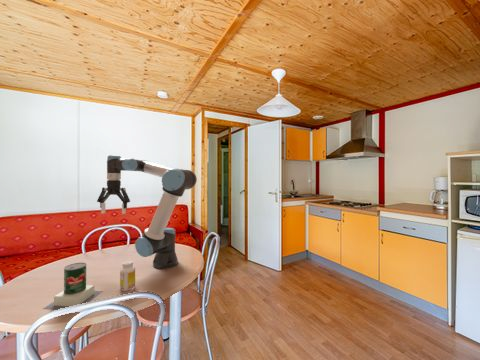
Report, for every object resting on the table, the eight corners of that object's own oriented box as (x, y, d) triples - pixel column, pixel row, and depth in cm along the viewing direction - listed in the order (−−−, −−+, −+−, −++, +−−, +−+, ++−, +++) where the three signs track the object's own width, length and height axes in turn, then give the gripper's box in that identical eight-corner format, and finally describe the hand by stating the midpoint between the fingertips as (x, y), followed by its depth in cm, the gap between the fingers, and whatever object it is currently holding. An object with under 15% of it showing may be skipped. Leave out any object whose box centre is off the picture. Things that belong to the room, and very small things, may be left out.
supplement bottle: (137, 284, 108) (137, 259, 108) (132, 291, 101) (132, 264, 101) (123, 285, 107) (123, 260, 107) (117, 292, 100) (118, 265, 100)
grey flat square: (103, 292, 100) (103, 291, 100) (76, 311, 85) (76, 310, 85) (73, 290, 101) (73, 289, 101) (42, 309, 86) (42, 308, 86)
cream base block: (94, 293, 98) (94, 285, 98) (76, 306, 88) (76, 297, 88) (74, 292, 98) (74, 284, 98) (53, 305, 88) (54, 296, 88)
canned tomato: (79, 284, 98) (79, 261, 98) (90, 287, 95) (90, 264, 95) (59, 293, 91) (59, 267, 91) (70, 296, 88) (71, 270, 88)
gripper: (90, 179, 129) (90, 214, 129) (129, 180, 127) (128, 214, 127) (99, 179, 136) (99, 212, 136) (136, 180, 135) (135, 212, 135)
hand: (113, 213), depth 132 cm, fingers open, 13 cm apart
